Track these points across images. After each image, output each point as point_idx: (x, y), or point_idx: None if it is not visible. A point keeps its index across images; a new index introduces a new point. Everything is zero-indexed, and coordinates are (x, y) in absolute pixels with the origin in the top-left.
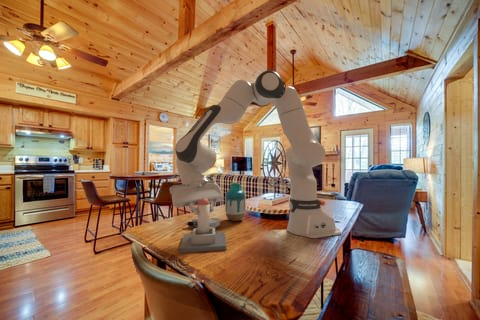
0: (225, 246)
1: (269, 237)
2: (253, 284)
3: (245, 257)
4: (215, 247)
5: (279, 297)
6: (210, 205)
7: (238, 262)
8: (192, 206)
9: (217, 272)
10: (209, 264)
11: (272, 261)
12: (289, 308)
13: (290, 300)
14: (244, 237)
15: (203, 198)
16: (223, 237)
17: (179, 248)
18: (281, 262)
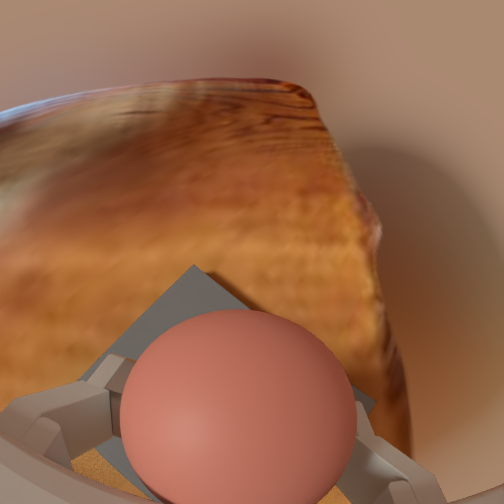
0: (197, 268)
1: (3, 222)
2: (287, 125)
3: (196, 188)
4: (234, 300)
5: (280, 94)
6: (84, 420)
7: (240, 186)
8: (406, 457)
9: (324, 196)
10: (320, 241)
11: (169, 134)
12: (288, 84)
13: (273, 85)
14: (33, 301)
15: (277, 401)
16: (119, 350)
17: (374, 401)
18: (161, 121)
